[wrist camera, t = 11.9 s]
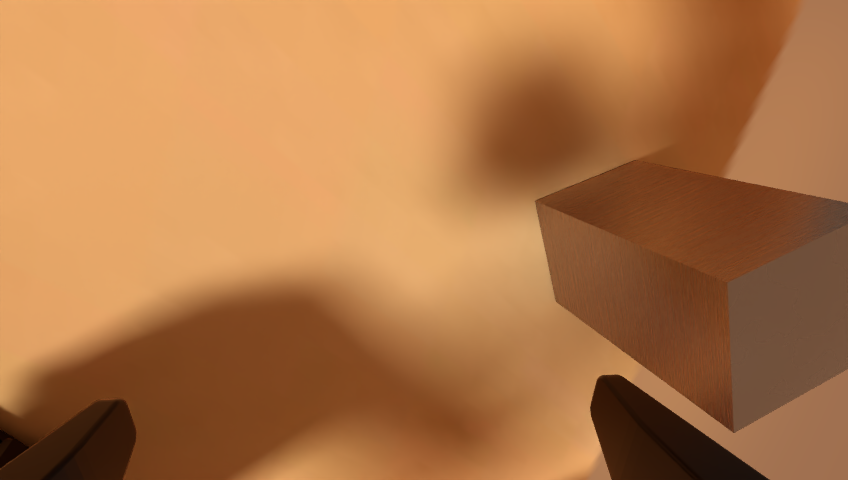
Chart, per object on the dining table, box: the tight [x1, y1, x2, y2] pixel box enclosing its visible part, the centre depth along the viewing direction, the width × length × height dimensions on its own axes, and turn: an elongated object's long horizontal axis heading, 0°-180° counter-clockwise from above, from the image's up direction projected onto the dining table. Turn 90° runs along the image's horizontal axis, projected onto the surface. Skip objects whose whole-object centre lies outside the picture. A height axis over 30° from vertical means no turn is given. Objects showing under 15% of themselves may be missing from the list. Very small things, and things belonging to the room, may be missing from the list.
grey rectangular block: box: [535, 160, 848, 433], centre depth 20 cm, size 6×6×11 cm
